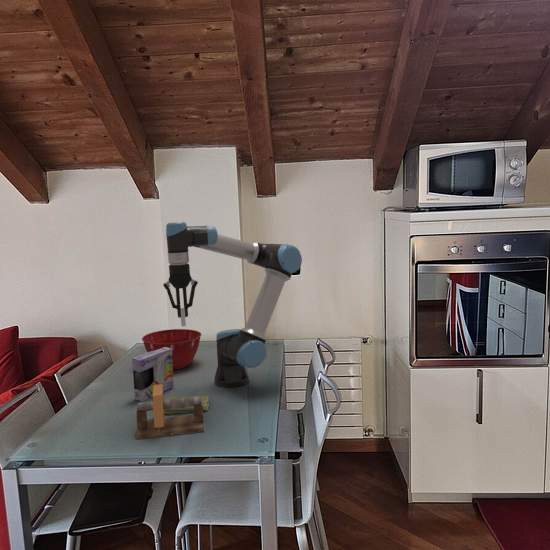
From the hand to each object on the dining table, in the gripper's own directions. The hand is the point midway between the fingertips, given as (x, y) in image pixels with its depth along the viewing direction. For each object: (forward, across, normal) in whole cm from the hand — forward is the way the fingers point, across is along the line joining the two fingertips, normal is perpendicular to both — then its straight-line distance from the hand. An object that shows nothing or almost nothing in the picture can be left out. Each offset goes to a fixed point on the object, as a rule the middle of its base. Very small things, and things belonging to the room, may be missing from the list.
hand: (183, 325), depth 184 cm
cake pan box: (+32, -13, +17) cm, 38 cm away
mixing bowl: (+32, -4, +54) cm, 63 cm away
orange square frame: (+28, -11, -19) cm, 36 cm away
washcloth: (+32, -2, -2) cm, 32 cm away
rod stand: (+31, -8, -20) cm, 37 cm away
